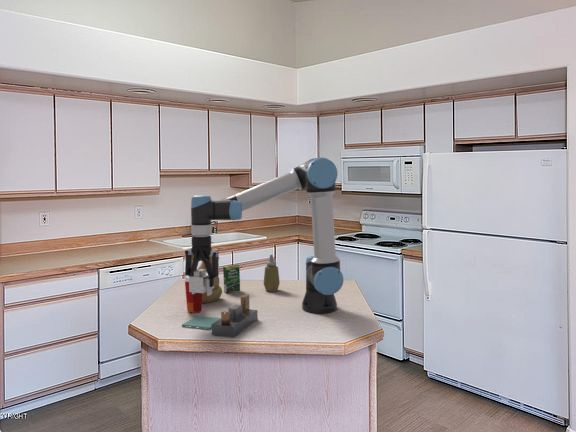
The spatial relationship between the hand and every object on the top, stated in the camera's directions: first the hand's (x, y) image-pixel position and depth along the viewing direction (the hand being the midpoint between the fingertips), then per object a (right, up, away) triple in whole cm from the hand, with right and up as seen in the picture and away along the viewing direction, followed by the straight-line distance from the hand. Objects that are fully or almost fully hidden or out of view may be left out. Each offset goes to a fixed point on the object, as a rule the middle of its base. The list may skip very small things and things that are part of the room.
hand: (202, 293), depth 190 cm
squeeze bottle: (+25, -7, +53) cm, 59 cm away
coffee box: (+6, -7, +51) cm, 52 cm away
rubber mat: (0, -12, +1) cm, 12 cm away
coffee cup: (-6, -10, +18) cm, 22 cm away
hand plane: (+14, -12, -3) cm, 18 cm away
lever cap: (0, +2, 0) cm, 2 cm away
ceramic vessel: (-6, -9, +36) cm, 37 cm away
